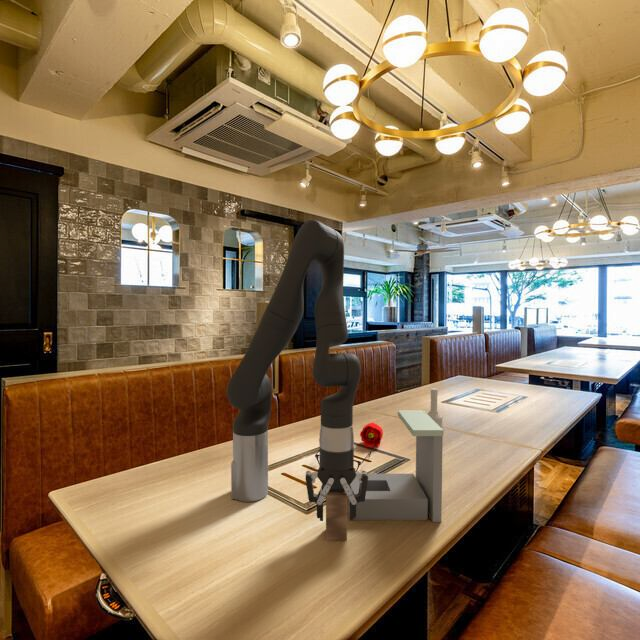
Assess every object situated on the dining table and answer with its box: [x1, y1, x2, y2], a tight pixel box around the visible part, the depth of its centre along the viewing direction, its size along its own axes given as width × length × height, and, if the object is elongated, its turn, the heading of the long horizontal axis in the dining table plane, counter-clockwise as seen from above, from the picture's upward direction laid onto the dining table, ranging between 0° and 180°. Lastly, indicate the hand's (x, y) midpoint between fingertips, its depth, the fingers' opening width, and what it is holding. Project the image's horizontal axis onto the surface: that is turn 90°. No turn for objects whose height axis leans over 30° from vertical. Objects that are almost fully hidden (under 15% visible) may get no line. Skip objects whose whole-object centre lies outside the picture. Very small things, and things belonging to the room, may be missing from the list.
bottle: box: [426, 387, 443, 429], centre depth 122 cm, size 5×5×25 cm
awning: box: [397, 409, 444, 523], centre depth 100 cm, size 7×17×22 cm, turn 1°
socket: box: [347, 473, 428, 521], centre depth 100 cm, size 18×14×5 cm
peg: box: [325, 490, 348, 542], centre depth 87 cm, size 4×4×10 cm
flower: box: [359, 422, 384, 448], centre depth 144 cm, size 8×8×8 cm
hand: (336, 518), depth 87 cm, fingers open, 6 cm apart
